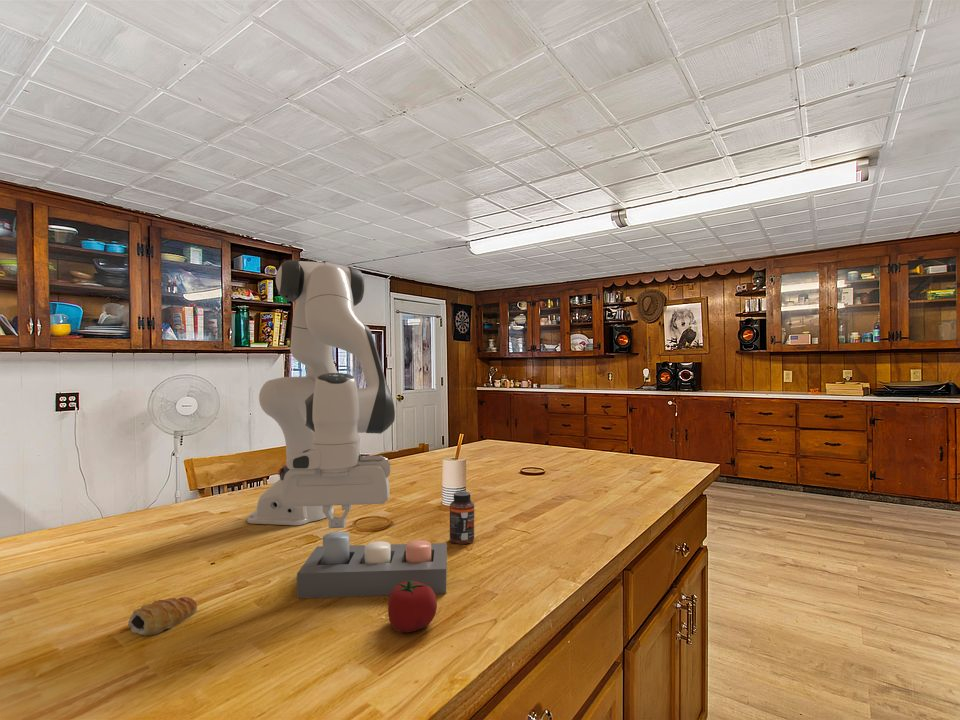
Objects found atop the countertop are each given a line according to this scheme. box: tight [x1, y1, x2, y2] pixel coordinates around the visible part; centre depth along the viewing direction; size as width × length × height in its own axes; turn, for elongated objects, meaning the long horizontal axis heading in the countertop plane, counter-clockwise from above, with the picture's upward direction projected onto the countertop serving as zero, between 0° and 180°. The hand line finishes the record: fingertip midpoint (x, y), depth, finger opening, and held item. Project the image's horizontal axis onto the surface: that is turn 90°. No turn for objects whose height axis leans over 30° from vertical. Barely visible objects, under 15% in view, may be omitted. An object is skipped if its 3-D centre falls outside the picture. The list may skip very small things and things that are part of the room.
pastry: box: [128, 596, 198, 637], centre depth 81 cm, size 9×7×4 cm
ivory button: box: [365, 541, 391, 564], centre depth 95 cm, size 5×5×6 cm
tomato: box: [387, 581, 438, 634], centre depth 79 cm, size 8×8×7 cm
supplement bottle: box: [449, 491, 475, 545], centre depth 116 cm, size 6×6×11 cm
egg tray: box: [296, 542, 448, 599], centre depth 95 cm, size 27×13×4 cm, turn 93°
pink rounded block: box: [405, 539, 431, 562], centre depth 96 cm, size 5×5×6 cm
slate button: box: [322, 531, 350, 565], centre depth 95 cm, size 5×5×6 cm
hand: (337, 527), depth 95 cm, fingers closed
